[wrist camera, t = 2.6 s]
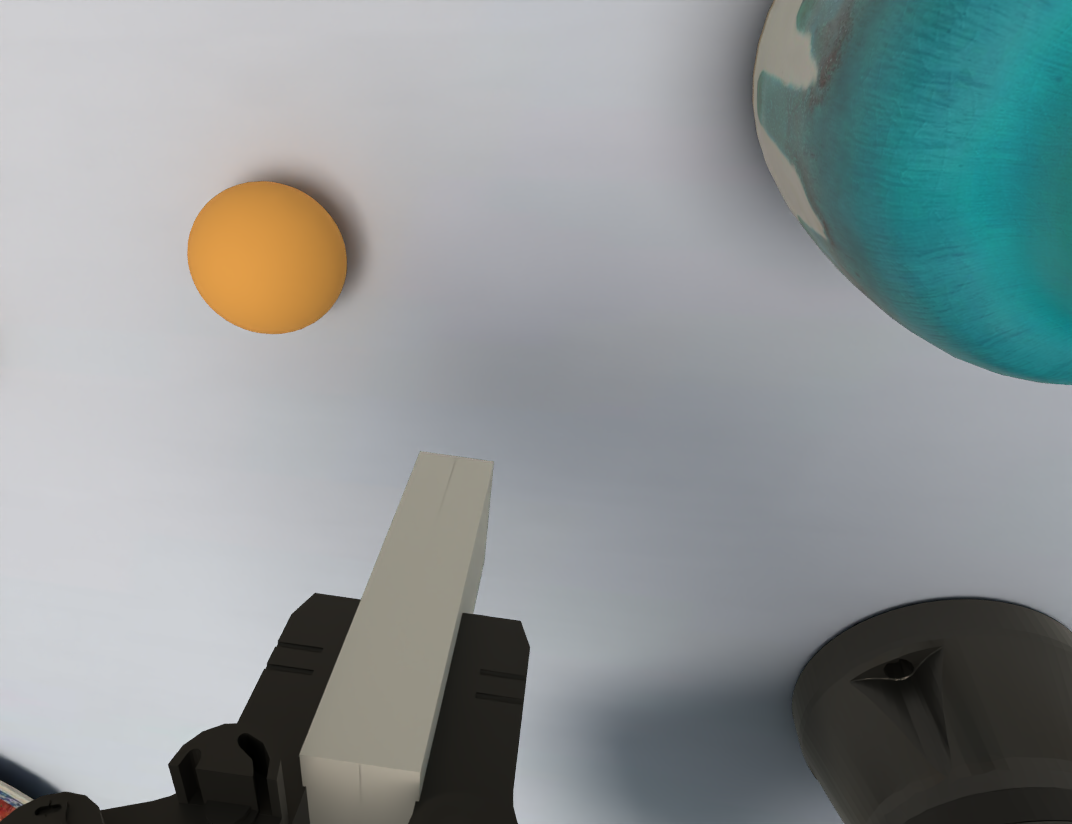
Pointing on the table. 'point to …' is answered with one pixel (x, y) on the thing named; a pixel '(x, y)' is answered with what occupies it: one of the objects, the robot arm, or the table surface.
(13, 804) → the ceramic plate
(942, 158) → the vase
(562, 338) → the table surface
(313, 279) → the ball
